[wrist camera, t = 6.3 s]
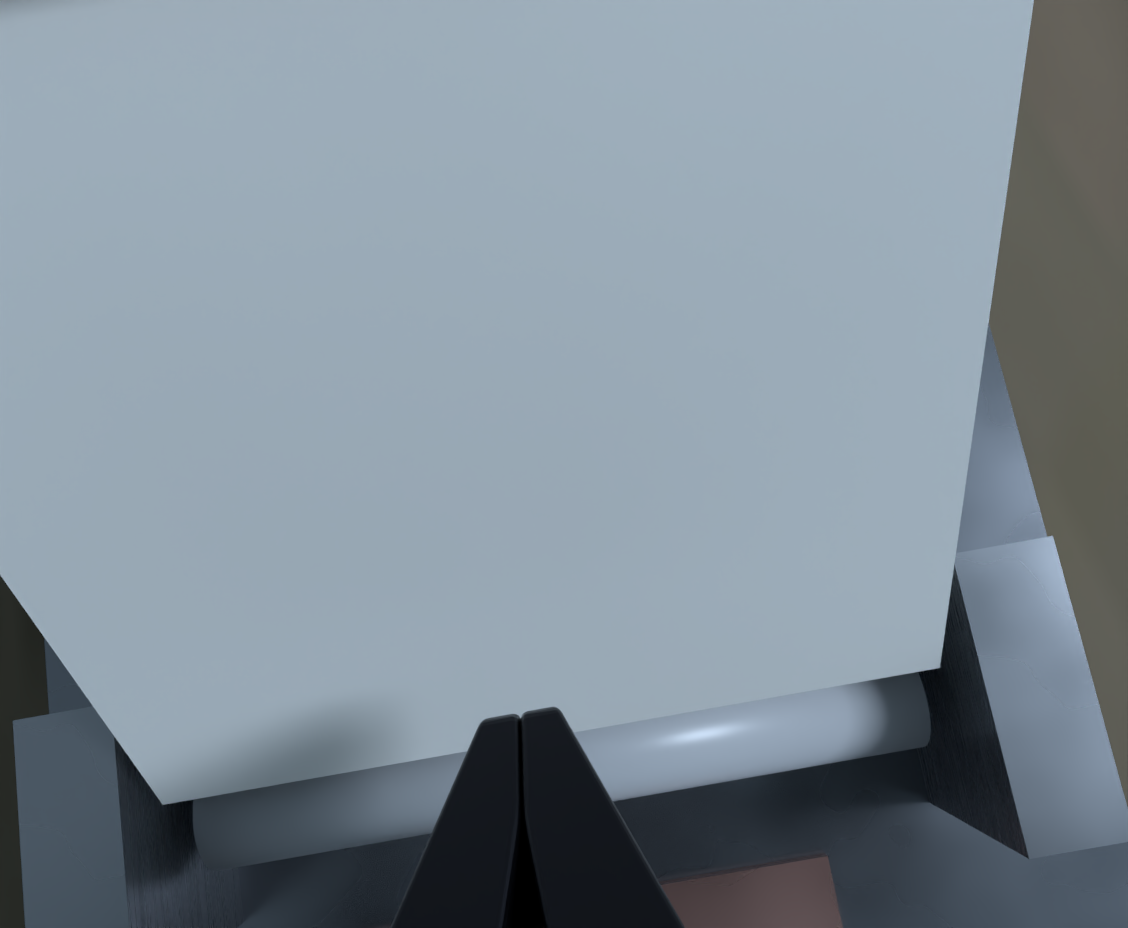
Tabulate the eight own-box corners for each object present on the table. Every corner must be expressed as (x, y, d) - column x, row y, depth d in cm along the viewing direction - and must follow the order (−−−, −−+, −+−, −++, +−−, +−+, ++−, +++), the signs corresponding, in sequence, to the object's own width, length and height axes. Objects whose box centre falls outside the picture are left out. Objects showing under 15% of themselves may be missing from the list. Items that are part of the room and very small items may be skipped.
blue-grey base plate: (1195, 1196, 14) (1458, 1451, 10) (131, 1375, 15) (-72, 1704, 10) (928, 199, 18) (1038, 60, 13) (55, 358, 18) (-124, 273, 13)
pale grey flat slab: (936, 791, 13) (1173, -709, 5) (217, 917, 13) (-713, -346, 5) (875, 669, 15) (971, -544, 7) (249, 780, 15) (-384, -288, 7)
